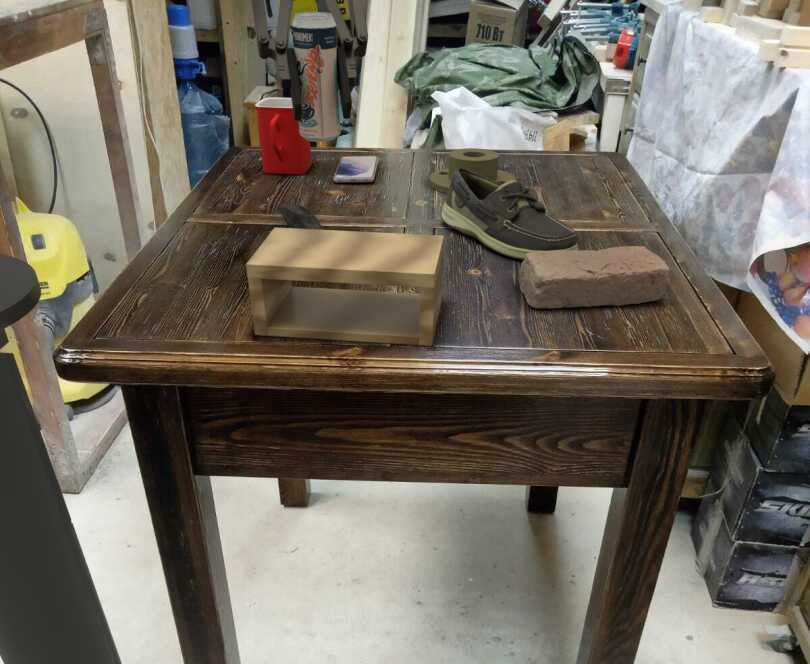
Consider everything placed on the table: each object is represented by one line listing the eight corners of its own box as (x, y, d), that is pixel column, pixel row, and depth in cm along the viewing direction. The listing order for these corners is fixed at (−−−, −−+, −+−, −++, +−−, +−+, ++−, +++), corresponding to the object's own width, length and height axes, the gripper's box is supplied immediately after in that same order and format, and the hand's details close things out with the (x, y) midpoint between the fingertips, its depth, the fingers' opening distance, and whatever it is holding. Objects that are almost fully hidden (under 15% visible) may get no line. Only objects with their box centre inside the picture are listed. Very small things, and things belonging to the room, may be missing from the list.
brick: (532, 311, 91) (537, 272, 88) (515, 284, 97) (520, 247, 94) (665, 306, 93) (674, 267, 90) (639, 280, 99) (647, 243, 96)
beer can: (292, 136, 89) (282, 12, 82) (328, 131, 91) (322, 10, 84) (312, 145, 86) (304, 17, 79) (348, 139, 88) (344, 14, 81)
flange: (495, 170, 121) (532, 150, 131) (414, 157, 127) (455, 139, 137) (493, 201, 124) (529, 179, 134) (413, 187, 130) (453, 168, 140)
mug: (271, 161, 142) (265, 97, 136) (314, 163, 142) (310, 98, 135) (254, 179, 133) (246, 111, 126) (300, 181, 133) (294, 112, 126)
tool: (366, 270, 104) (368, 248, 102) (315, 276, 101) (316, 253, 99) (304, 213, 116) (305, 192, 114) (257, 216, 113) (257, 194, 111)
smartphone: (332, 178, 131) (341, 156, 142) (333, 184, 131) (341, 161, 143) (374, 177, 131) (379, 155, 142) (374, 183, 131) (379, 161, 143)
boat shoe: (553, 273, 100) (561, 208, 95) (416, 229, 113) (417, 170, 108) (594, 255, 106) (605, 192, 100) (460, 215, 119) (463, 157, 114)
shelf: (254, 335, 85) (245, 264, 80) (281, 293, 94) (274, 227, 89) (432, 346, 84) (434, 273, 78) (441, 302, 93) (444, 235, 88)
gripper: (368, -55, 91) (397, 129, 89) (216, -56, 88) (243, 136, 86) (376, -115, 83) (407, 86, 82) (210, -117, 80) (239, 91, 79)
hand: (323, 111), depth 84 cm, fingers closed on beer can, 5 cm apart
